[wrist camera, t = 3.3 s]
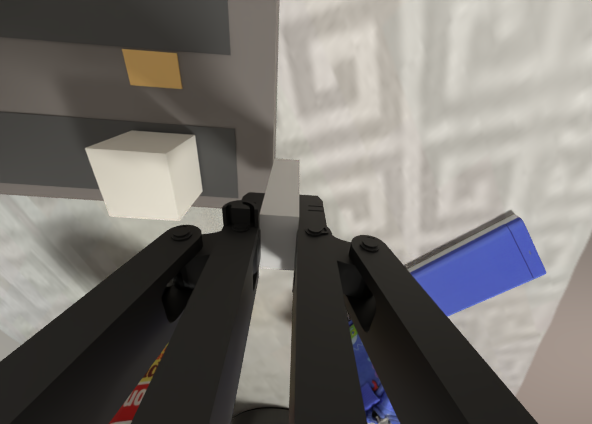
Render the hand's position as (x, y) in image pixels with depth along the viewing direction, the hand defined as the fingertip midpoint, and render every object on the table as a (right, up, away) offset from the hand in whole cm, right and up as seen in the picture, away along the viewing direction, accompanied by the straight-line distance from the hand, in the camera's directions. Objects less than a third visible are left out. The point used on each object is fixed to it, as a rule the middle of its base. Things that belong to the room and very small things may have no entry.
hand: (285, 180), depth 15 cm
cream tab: (-8, +1, +1) cm, 8 cm away
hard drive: (+17, -8, +10) cm, 21 cm away
